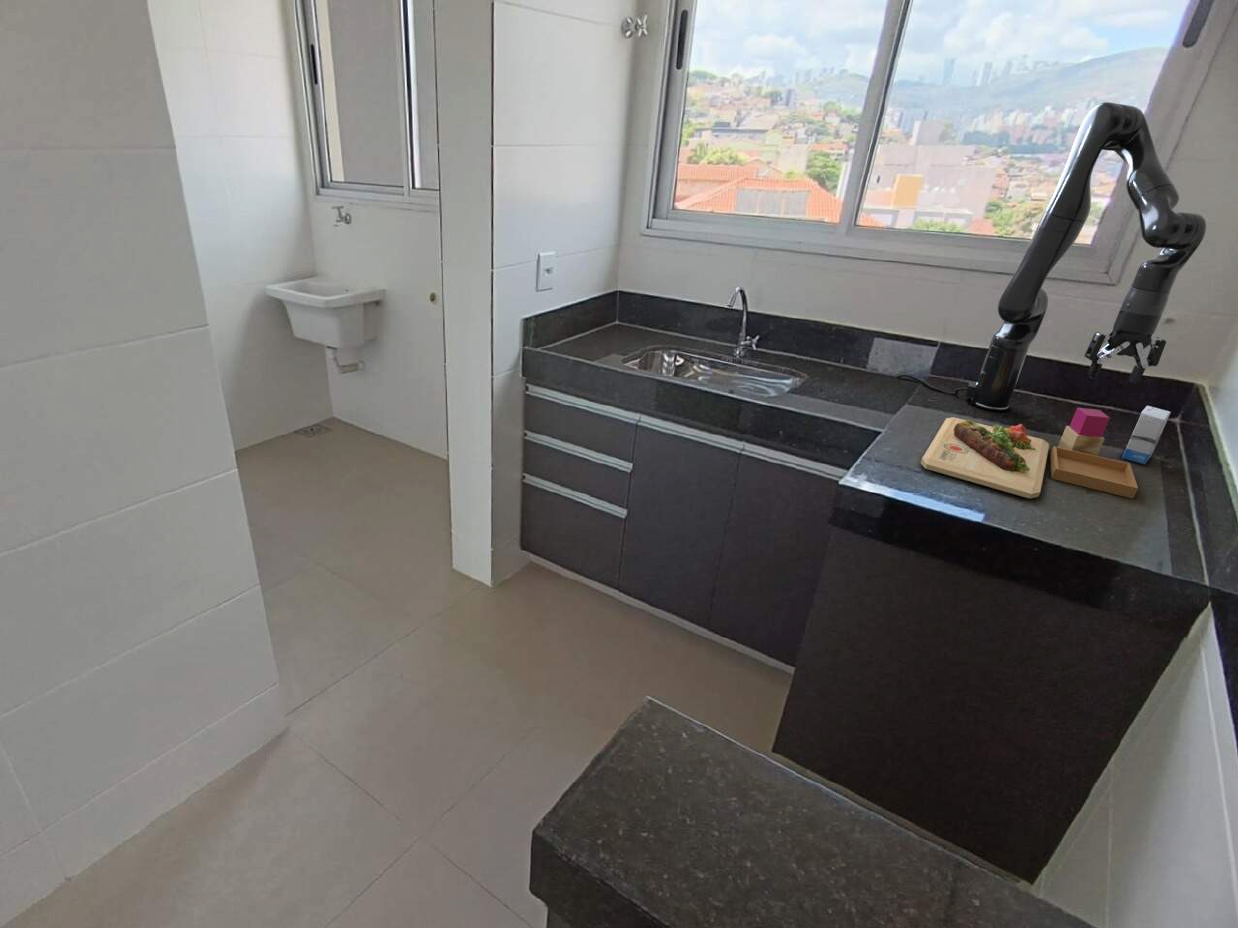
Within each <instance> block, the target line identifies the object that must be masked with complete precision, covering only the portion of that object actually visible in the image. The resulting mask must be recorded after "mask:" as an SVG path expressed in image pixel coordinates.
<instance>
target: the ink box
mask: <svg viewBox="0 0 1238 928" xmlns="http://www.w3.org/2000/svg"><path fill="white" fill-rule="evenodd" d="M1171 413H1172V412H1171V411H1169V410H1165V409H1162V408H1158V407H1154V406H1151V405H1146V406H1145V407H1144V409H1142V411H1141V413H1140V415H1139V418H1138V420H1137V422H1136V424H1135V427H1134V429H1133V431H1132V433H1131V435H1130V438H1129V440H1128V443H1127V445H1126V447H1125V450H1124V452H1123V454H1122V457H1121V458H1122V459H1123V460H1128V461H1129V462H1130V461H1131V462H1134V463H1137V464H1141V465H1146V464H1147V462H1148V461H1149V460H1150V458H1151V457H1152V455H1153V453H1154V451H1155V449H1156V447H1157V445H1158V443H1159V440H1160V438H1161V435H1162V433H1163V431H1164V428H1165V426H1166V424H1167V422H1168V419H1169V417H1170V416H1171Z"/></svg>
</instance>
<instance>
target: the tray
mask: <svg viewBox="0 0 1238 928" xmlns="http://www.w3.org/2000/svg"><path fill="white" fill-rule="evenodd" d="M1051 449H1052V450H1051V452H1050V454H1049V461H1050V462H1049V463H1050V475H1051V479H1052V480H1055V481H1060V482H1064V483H1067V484H1071V485H1075V486H1080V487H1083V488H1087V489H1092V490H1096V491H1100V492H1104V493H1108V494H1112V495H1117V496H1121V497H1124V498H1128V499H1132V500H1133V499H1134V498H1135V496H1136V494H1137V492H1138V490H1139V486H1138V484H1137V480H1136V477H1135V474H1134V471H1133V467H1132V465H1131V463H1130V462H1126V461H1122V460H1116V459H1113V458H1108V457H1103V456H1099V455H1097V456H1095V455H1091V454H1086V453H1082V452H1078V451H1073V450H1069V449H1064V448H1060V447H1058V446H1055V445H1053V446H1052V448H1051Z"/></svg>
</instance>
